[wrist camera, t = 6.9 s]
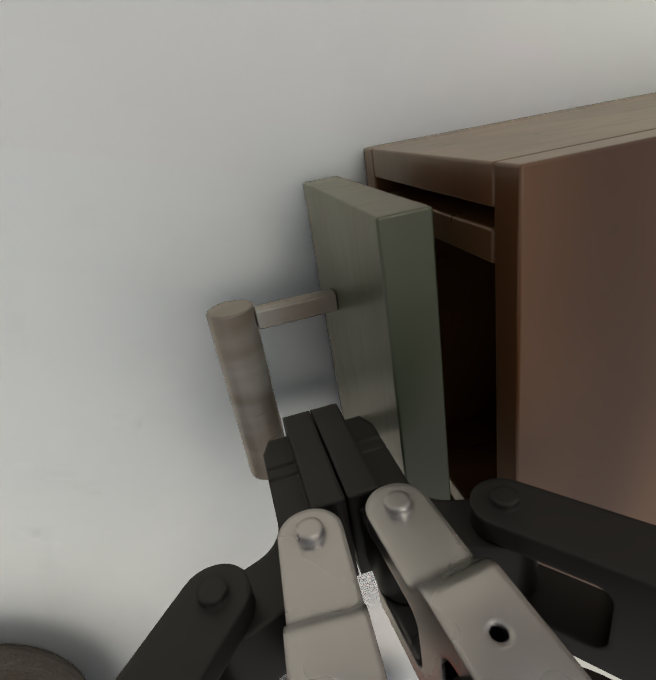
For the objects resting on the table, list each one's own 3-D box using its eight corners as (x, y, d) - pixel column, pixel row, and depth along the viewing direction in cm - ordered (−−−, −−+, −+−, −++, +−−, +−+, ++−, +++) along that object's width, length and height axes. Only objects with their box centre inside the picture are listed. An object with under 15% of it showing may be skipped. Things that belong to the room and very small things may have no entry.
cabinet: (398, 446, 22) (514, 626, 14) (362, 148, 17) (520, 164, 9) (672, 364, 24) (906, 479, 16) (721, 79, 19) (1106, 42, 11)
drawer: (260, 491, 20) (292, 658, 14) (180, 206, 15) (170, 262, 9) (626, 382, 23) (793, 478, 16) (660, 111, 18) (917, 100, 12)
